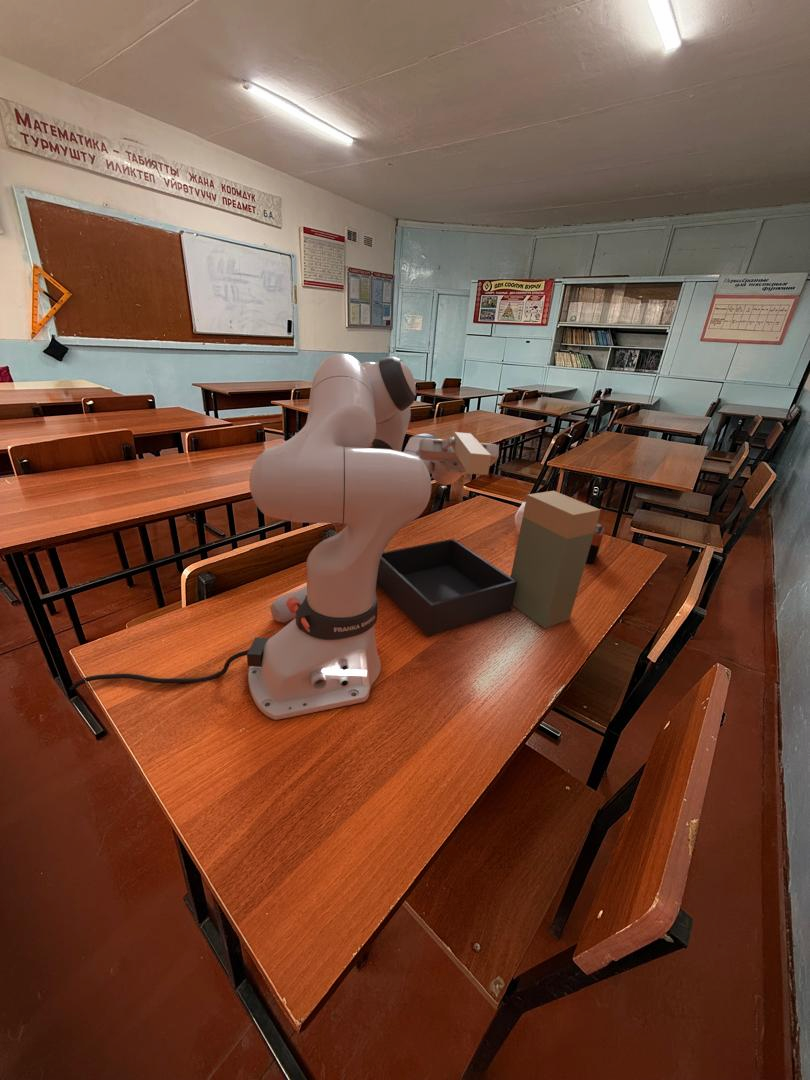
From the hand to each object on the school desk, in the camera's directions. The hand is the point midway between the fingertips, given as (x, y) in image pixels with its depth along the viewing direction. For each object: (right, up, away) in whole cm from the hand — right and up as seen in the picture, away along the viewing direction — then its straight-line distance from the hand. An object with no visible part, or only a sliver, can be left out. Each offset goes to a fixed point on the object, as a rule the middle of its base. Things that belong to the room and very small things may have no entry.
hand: (463, 441), depth 104 cm
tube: (-31, -37, -8) cm, 49 cm away
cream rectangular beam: (0, -6, -8) cm, 10 cm away
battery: (+38, -29, +22) cm, 53 cm away
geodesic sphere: (+26, -24, +30) cm, 46 cm away
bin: (-6, -36, -3) cm, 37 cm away
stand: (+16, -39, -5) cm, 43 cm away
